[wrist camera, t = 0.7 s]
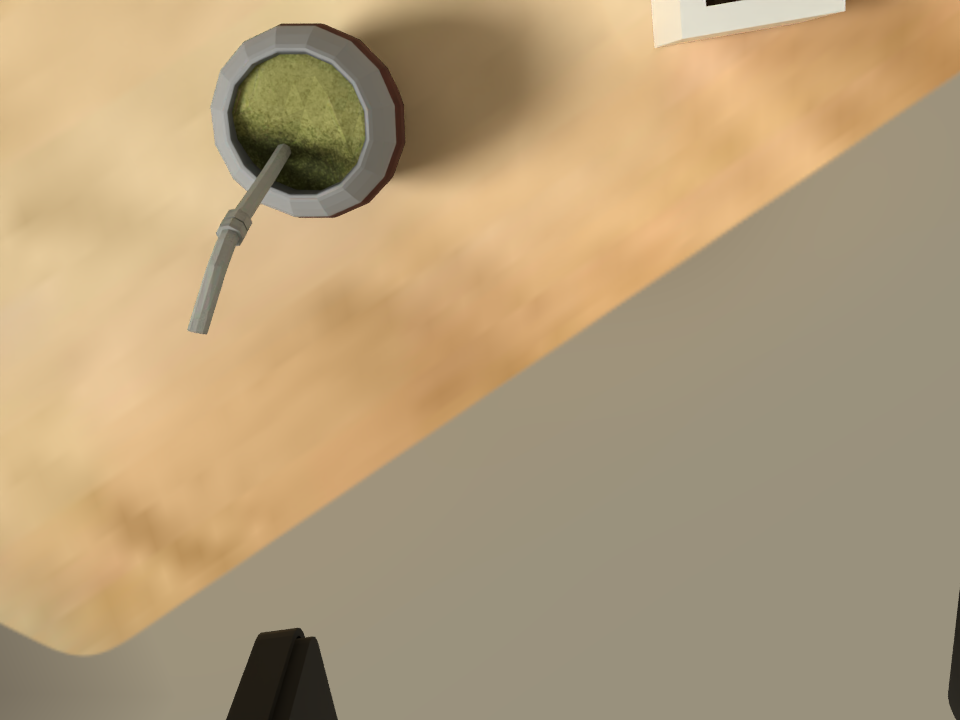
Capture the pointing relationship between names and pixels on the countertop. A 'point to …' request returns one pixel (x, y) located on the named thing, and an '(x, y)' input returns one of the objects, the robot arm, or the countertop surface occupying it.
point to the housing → (730, 17)
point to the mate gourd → (300, 134)
